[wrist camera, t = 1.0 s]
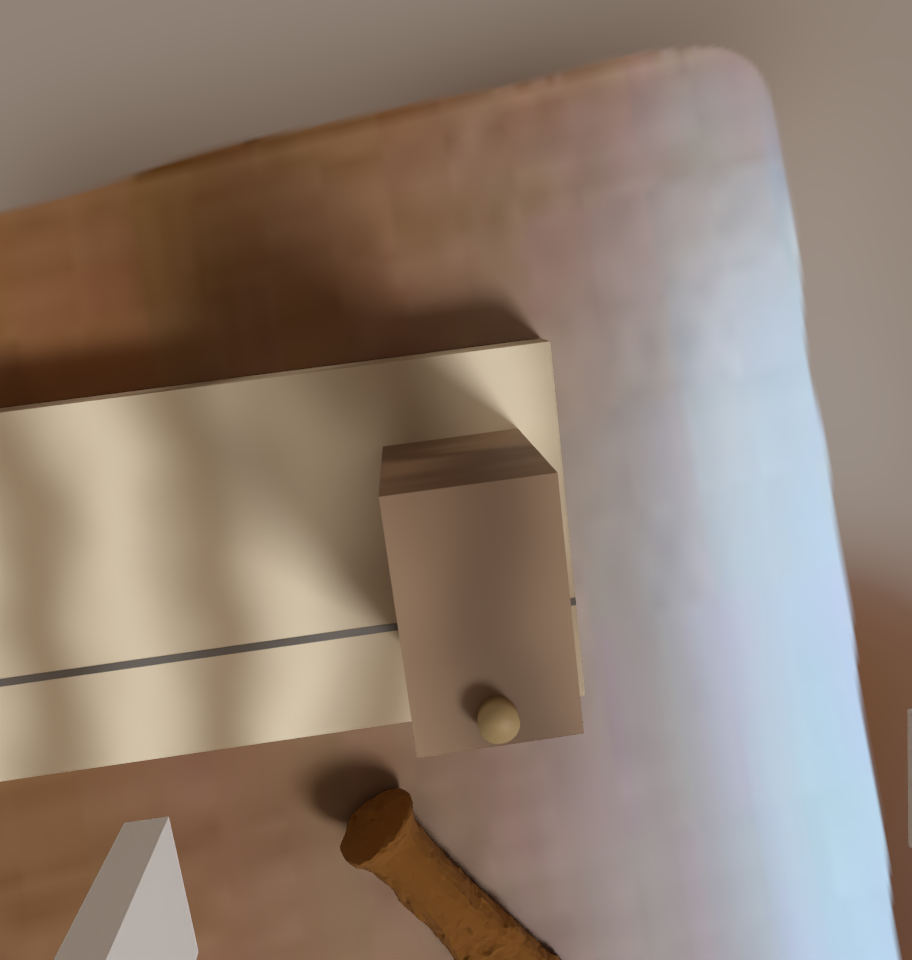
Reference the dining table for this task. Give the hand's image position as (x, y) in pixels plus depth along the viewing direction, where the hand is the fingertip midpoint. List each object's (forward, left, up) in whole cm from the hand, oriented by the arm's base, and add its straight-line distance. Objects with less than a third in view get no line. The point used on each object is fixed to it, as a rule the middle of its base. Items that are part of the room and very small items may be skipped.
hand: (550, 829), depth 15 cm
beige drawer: (0, 0, -18) cm, 18 cm away
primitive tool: (0, -20, -21) cm, 29 cm away
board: (-10, 0, -20) cm, 22 cm away
